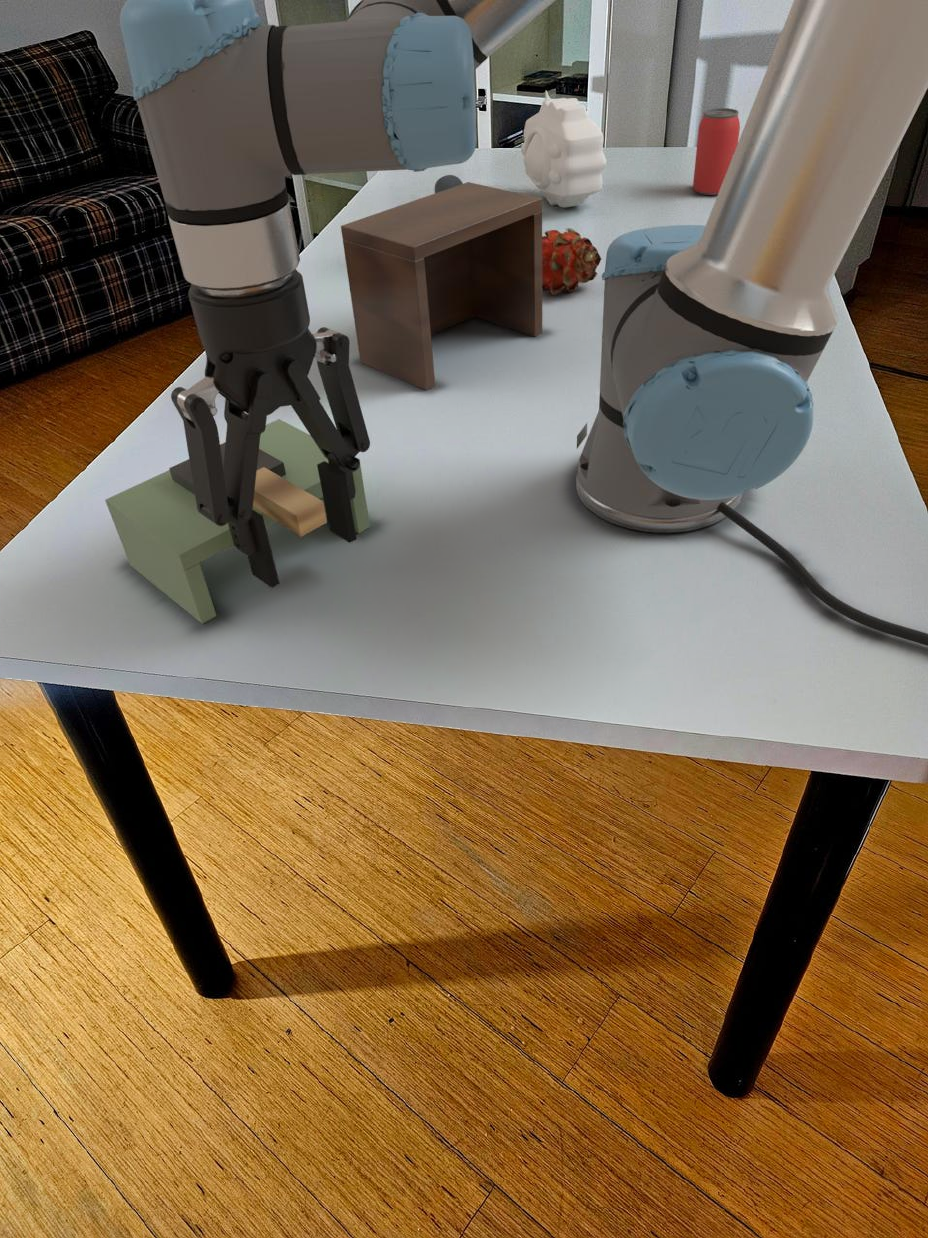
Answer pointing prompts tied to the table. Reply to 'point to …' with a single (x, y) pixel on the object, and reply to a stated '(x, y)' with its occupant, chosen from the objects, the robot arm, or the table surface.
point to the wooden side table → (442, 273)
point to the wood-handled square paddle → (271, 494)
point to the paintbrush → (447, 183)
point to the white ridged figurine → (563, 152)
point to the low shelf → (206, 520)
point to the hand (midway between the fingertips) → (305, 556)
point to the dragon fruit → (567, 260)
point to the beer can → (715, 149)
